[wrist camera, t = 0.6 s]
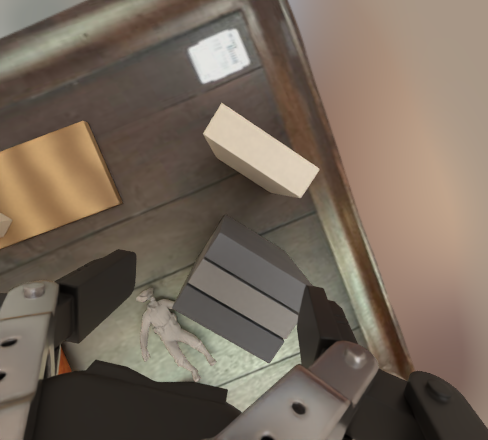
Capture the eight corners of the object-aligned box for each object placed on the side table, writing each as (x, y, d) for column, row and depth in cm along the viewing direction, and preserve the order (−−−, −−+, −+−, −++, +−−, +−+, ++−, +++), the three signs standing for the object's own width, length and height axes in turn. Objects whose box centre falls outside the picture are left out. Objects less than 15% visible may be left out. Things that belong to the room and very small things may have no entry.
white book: (226, 140, 31) (221, 102, 17) (282, 176, 32) (320, 168, 18) (216, 157, 31) (202, 134, 17) (271, 193, 32) (300, 198, 18)
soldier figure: (176, 405, 29) (115, 323, 26) (164, 384, 33) (110, 311, 30) (228, 352, 33) (179, 275, 30) (211, 339, 37) (167, 270, 34)
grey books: (225, 213, 32) (219, 232, 19) (285, 251, 33) (318, 292, 20) (195, 260, 33) (171, 308, 20) (255, 296, 34) (269, 364, 21)
